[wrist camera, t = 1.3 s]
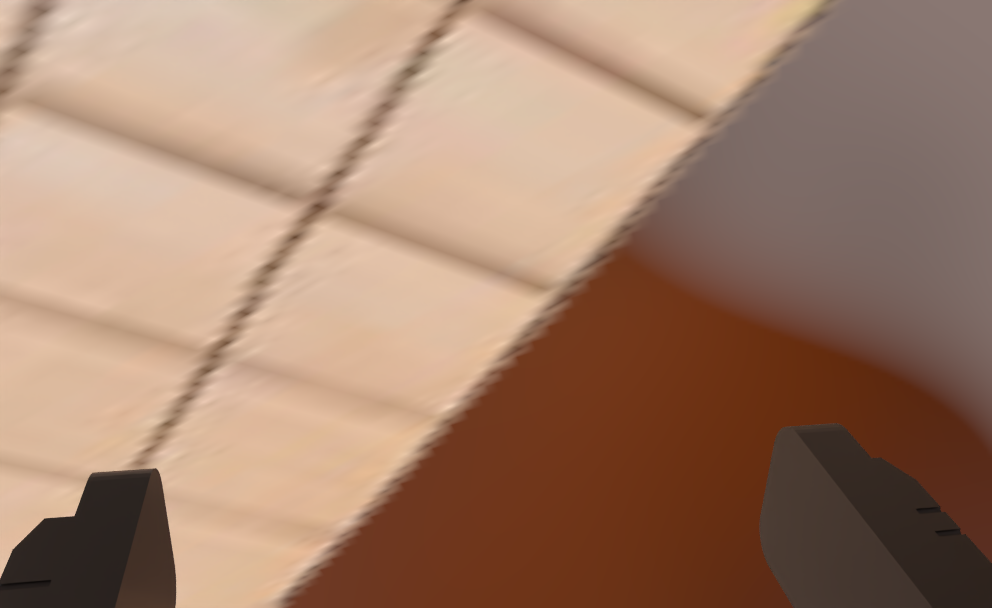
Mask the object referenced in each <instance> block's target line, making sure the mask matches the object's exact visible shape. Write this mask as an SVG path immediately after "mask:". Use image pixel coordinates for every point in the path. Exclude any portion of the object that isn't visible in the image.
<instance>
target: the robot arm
mask: <svg viewBox="0 0 992 608" xmlns="http://www.w3.org/2000/svg"><path fill="white" fill-rule="evenodd" d="M760 539H761V545H762V549H763V553H764V556H765V559H766V561H767V564H768V565H769V567H770V569H771V570H772V572H773V574H774V576H775V577H776V579H777V581H778V582H779V584H780V586H781V587H782V589H783V591H784V592H785V594H786V596H787V597H788V599H789V601H790V602H791V604H792V606H793V607H794V608H992V563H991V562H990V561H989V560H988V559H987V558H986V557H985V555H984V554H983V553H982V552H981V551H980V550H979V549H978V548H977V547H976V545H975V544H974V543H973V542H972V541H971V540H970V539H969V538H968V537H967V536H966V534H964V535H961V533H960V528H959V527H958V526H957V525H956V523H955V522H954V521H953V520H952V519H951V518H950V517H949V516H948V515H947V513H946V512H941V510H940V506H939V505H938V503H937V502H936V501H935V500H934V499H933V498H932V497H931V496H930V495H929V494H928V493H927V491H926V490H925V489H924V488H923V487H922V486H921V485H920V484H919V483H918V481H917V480H915V479H914V478H912V477H911V476H909V475H908V474H906V473H904V472H903V471H901V470H899V469H898V468H896V467H895V466H893V465H892V464H890V463H889V462H887V461H885V460H884V459H882V458H871V457H870V456H869V455H868V454H867V452H866V451H865V450H864V449H863V448H862V447H861V446H860V444H859V443H858V442H857V441H856V440H855V439H854V437H853V436H852V435H851V434H850V433H849V432H848V430H847V429H846V428H845V427H843V426H842V425H840V424H837V423H836V424H821V425H807V426H792V427H784V428H782V429H781V430H780V431H779V432H778V434H777V436H776V439H775V443H774V448H773V453H772V458H771V463H770V469H769V474H768V479H767V484H766V490H765V495H764V500H763V505H762V511H761V516H760ZM175 605H176V573H175V564H174V557H173V551H172V544H171V538H170V532H169V525H168V519H167V512H166V506H165V500H164V493H163V487H162V481H161V477H160V474H159V471H158V470H157V469H156V468H155V469H141V470H126V471H112V472H97V473H92V474H91V475H90V477H89V479H88V481H87V484H86V486H85V489H84V492H83V495H82V497H81V500H80V503H79V506H78V508H77V511H76V514H75V516H72V517H59V518H46V519H44V520H43V521H42V522H41V523H40V524H39V525H38V526H36V527H35V528H34V529H33V530H32V531H31V532H30V533H29V534H28V535H27V536H26V537H25V538H24V539H23V540H22V541H21V542H20V543H19V544H18V545H17V546H16V547H15V548H14V549H13V551H12V553H11V555H10V558H9V560H8V562H7V565H6V567H5V569H4V571H3V574H2V576H1V578H0V608H175Z"/></svg>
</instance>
